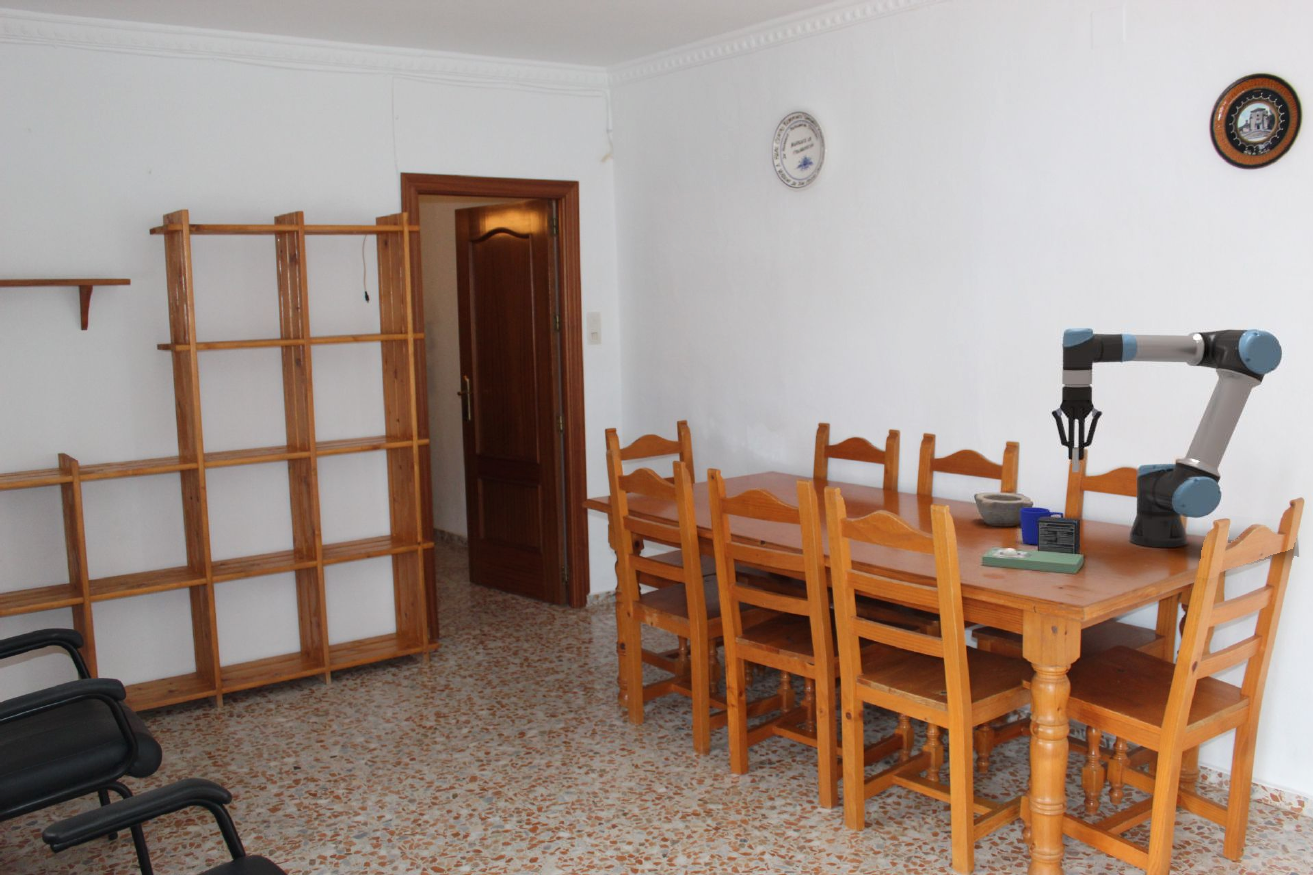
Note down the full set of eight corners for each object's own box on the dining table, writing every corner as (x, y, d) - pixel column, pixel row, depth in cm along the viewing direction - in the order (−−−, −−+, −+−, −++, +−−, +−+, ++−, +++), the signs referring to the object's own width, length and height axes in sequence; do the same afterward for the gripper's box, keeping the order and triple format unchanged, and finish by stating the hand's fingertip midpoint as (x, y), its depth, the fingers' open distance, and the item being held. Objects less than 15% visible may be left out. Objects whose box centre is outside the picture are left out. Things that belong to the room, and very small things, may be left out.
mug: (1065, 546, 306) (1065, 512, 304) (1021, 545, 308) (1022, 512, 307) (1060, 540, 314) (1061, 507, 312) (1018, 539, 316) (1018, 507, 315)
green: (1083, 563, 285) (1083, 554, 284) (1075, 573, 274) (1075, 564, 274) (992, 555, 297) (992, 547, 297) (982, 565, 287) (982, 556, 286)
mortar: (1035, 529, 330) (1035, 500, 329) (979, 529, 332) (980, 500, 331) (1024, 519, 346) (1024, 491, 345) (971, 519, 349) (971, 491, 348)
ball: (1020, 562, 289) (1016, 549, 291) (1018, 557, 285) (1014, 544, 287) (1005, 566, 290) (1001, 553, 292) (1003, 561, 287) (999, 548, 289)
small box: (1080, 554, 295) (1081, 517, 294) (1076, 559, 290) (1077, 522, 289) (1041, 551, 301) (1041, 515, 300) (1036, 556, 295) (1037, 519, 294)
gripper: (1105, 384, 285) (1103, 470, 288) (1054, 384, 291) (1053, 468, 294) (1100, 386, 278) (1099, 474, 281) (1049, 386, 285) (1048, 472, 288)
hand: (1075, 471), depth 288 cm, fingers closed
